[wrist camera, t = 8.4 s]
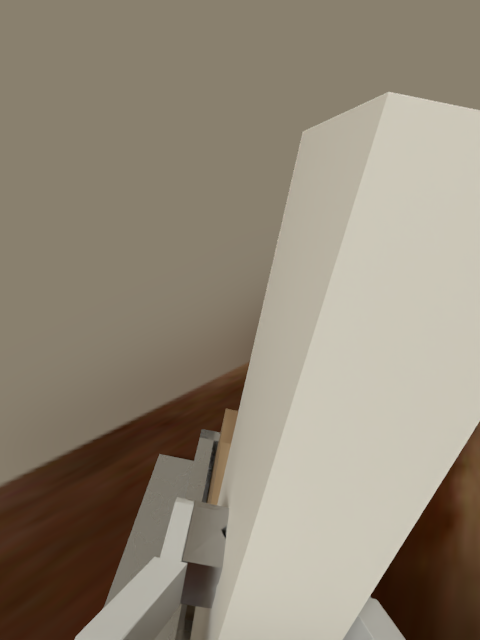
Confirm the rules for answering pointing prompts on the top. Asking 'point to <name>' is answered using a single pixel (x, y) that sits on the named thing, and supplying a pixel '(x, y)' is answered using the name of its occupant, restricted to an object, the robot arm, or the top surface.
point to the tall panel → (353, 369)
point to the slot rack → (166, 520)
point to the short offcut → (224, 437)
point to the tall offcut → (214, 497)
